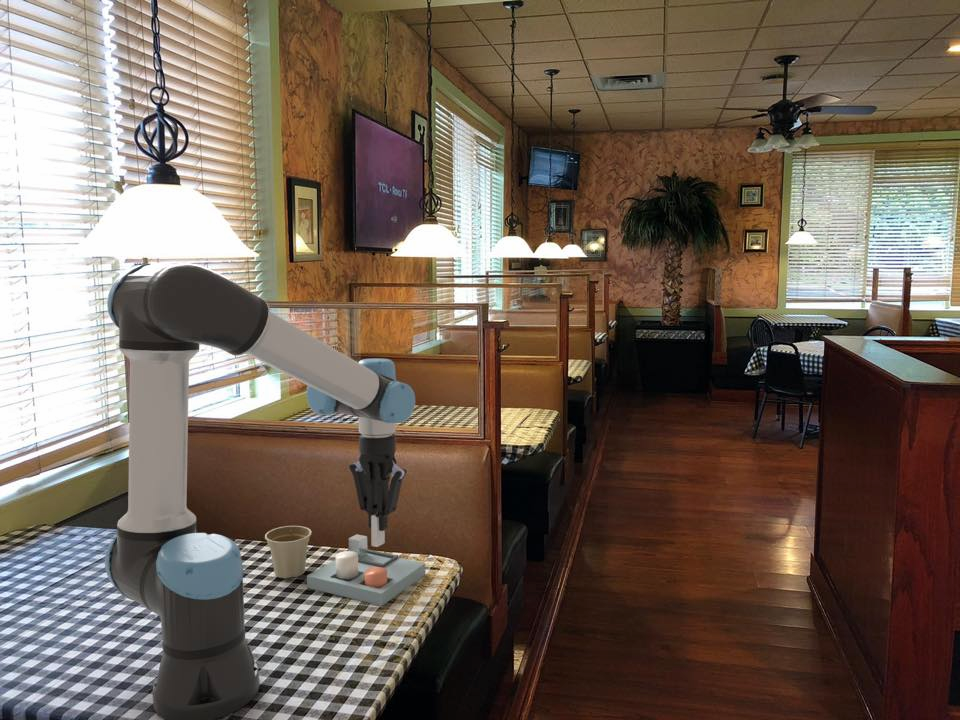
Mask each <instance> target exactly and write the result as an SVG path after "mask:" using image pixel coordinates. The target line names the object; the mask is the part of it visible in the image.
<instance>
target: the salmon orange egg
mask: <svg viewBox="0 0 960 720" xmlns="http://www.w3.org/2000/svg"><path fill="white" fill-rule="evenodd" d="M386 584H387V569H385V568H382V567H372V568H369V569H367V570H365V586H369V587H374V588H378V589H380V588H381V587H383V586H384V585H386Z"/></svg>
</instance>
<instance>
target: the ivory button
mask: <svg viewBox="0 0 960 720" xmlns="http://www.w3.org/2000/svg"><path fill="white" fill-rule="evenodd" d="M335 560H336V576H337V577H338V578H341V579H350V578H354V577H356V576H357V575H358V553H356V552H353V551H348V550H345V551H340V552H338V553H336V554H335Z"/></svg>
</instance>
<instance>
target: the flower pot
mask: <svg viewBox="0 0 960 720" xmlns="http://www.w3.org/2000/svg"><path fill="white" fill-rule="evenodd" d="M311 536H312V530H311V529H310V528H309V527H306V526H301V525H286V526H285V525H284V526H280V527H276V528H273V529H271V530H269V531H267V532H266V533H265V535H264V539H265V541H267V545H268V546H269V550H270V557H271V561H272V566H273V572H274V575H275V577H276V578H280V579H286V580H287V579H289V578H292V577H293V578H298V577H300V576H302V575H304V573H305V572H306V565H307V564H306V562H307V555H308V554H307V552H308V544H309V541H310V538H311Z"/></svg>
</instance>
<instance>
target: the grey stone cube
mask: <svg viewBox="0 0 960 720" xmlns="http://www.w3.org/2000/svg"><path fill="white" fill-rule="evenodd" d="M367 549H368V536H367V535H363V534H362V535H361V534H357V533H356V534H355V535H353V536H350V537H349V538H348V550H349V551H353V552H356V553H358V558H359V559H360V558H362V557H364V556H365V555H367V554H368V551H367Z"/></svg>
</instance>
